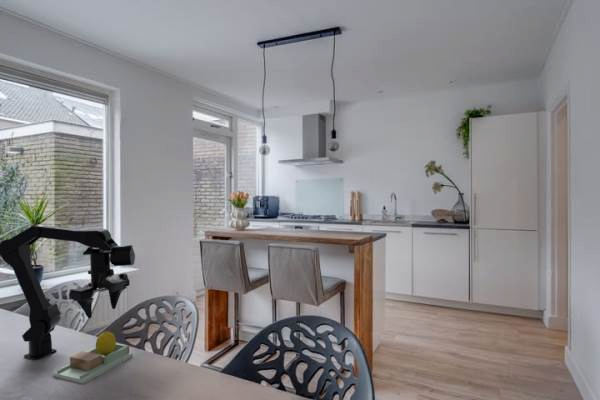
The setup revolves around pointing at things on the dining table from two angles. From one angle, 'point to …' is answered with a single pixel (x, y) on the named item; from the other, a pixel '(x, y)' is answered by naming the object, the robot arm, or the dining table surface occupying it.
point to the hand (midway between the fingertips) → (102, 313)
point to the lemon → (105, 343)
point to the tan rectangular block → (85, 360)
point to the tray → (108, 362)
